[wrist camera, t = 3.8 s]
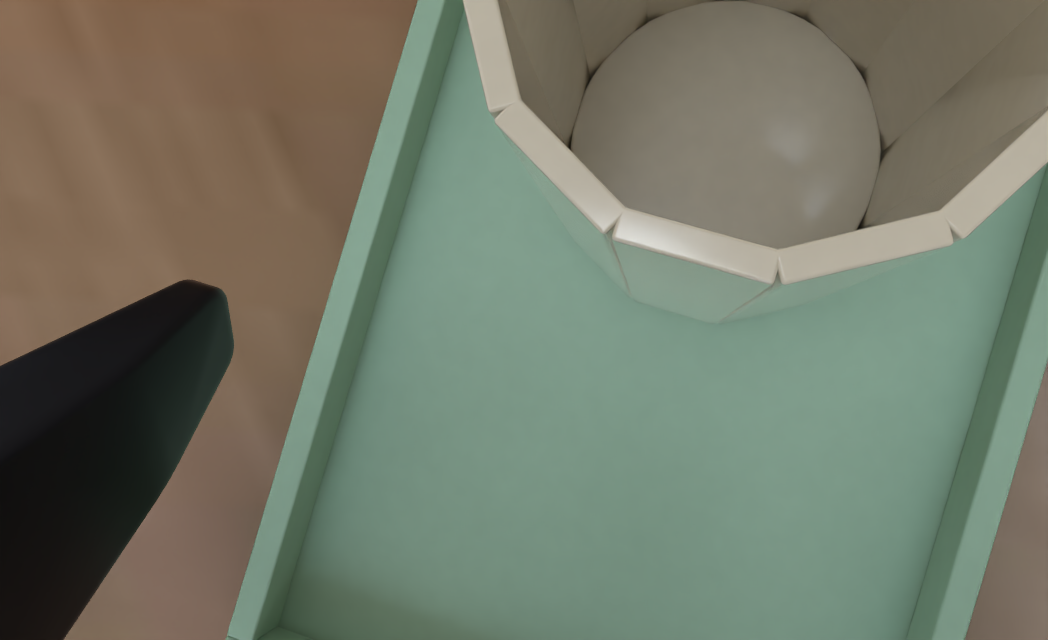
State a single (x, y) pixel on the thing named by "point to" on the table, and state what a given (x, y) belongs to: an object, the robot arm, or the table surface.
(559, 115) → the cup
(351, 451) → the tray
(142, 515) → the robot arm
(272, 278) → the table surface
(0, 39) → the table surface
